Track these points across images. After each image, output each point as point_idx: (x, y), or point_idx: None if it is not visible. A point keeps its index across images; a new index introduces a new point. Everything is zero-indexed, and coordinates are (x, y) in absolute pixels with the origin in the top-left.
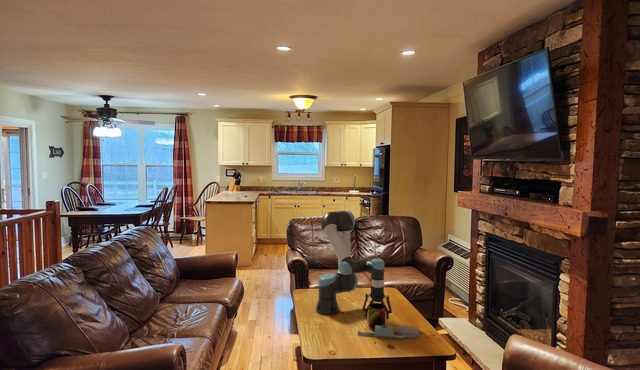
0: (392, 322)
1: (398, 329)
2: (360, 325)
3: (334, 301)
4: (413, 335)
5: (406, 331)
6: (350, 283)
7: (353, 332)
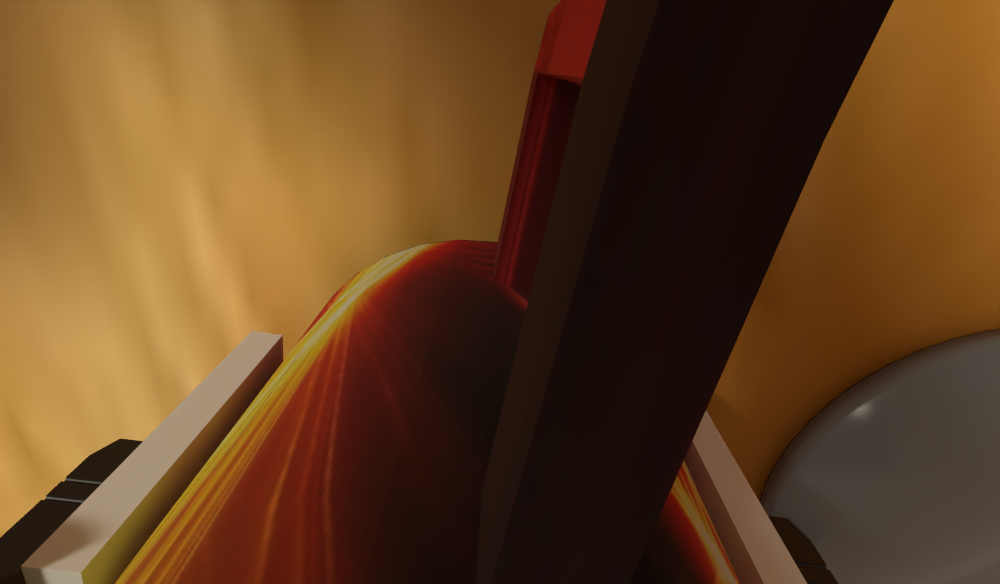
0: (885, 47)
1: (864, 466)
2: (149, 275)
3: None
4: None
5: (975, 526)
6: None
7: None
